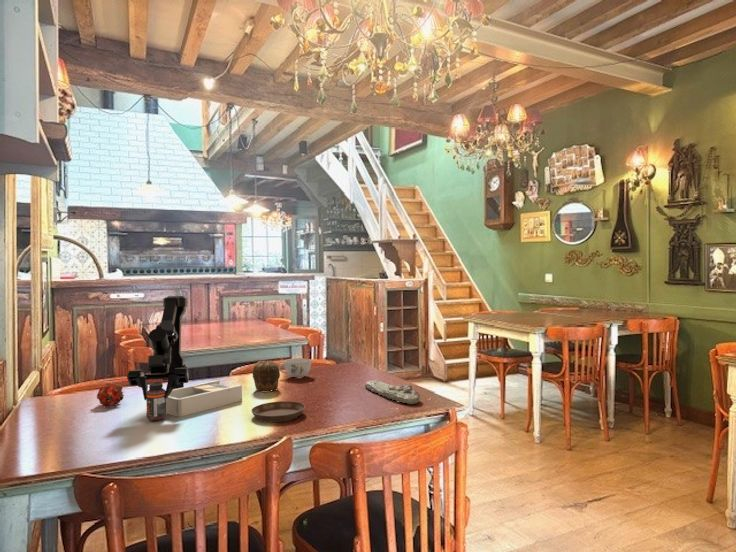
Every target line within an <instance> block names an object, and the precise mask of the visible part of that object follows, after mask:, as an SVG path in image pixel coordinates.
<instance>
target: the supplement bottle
mask: <svg viewBox="0 0 736 552" xmlns="http://www.w3.org/2000/svg"><path fill="white" fill-rule="evenodd" d="M165 392H166V389H165V388H163V382H161V381H160V382H159V381H158V382H157V381H156V382H152V383H150V384H149V385H148V391H147V393H146V400H145V401H146V418H147V419H148V420H150V421H156V420H157V421H158V420H162V419H164V418H166V417H167V413H166V399H165Z"/></svg>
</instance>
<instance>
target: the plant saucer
mask: <svg viewBox="0 0 736 552" xmlns="http://www.w3.org/2000/svg"><path fill="white" fill-rule="evenodd" d="M305 408H306V406H305V404H304V403H302V402H297V401H290V400H289V401H286V400H284V401H283V400H282V401H271V402H265V403H261V404H259V405H256V406H254V407H252V409H251V410H250V411H251V413H252V415H253V416H254V417H255V418H256V419H257V420H258V421H260V420H261V422H264V421H265V423H282V421H284V422H288V421H287V420H289V421H292V420H291V419H293V420H295V419H297V418H299V417H300V416H301V415H302V413H303V412H304V410H305ZM298 416H299V417H298ZM294 418H295V419H294Z"/></svg>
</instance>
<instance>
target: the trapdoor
mask: <svg viewBox="0 0 736 552" xmlns="http://www.w3.org/2000/svg"><path fill="white" fill-rule="evenodd" d="M228 387H230V385H229V386H228V385H224V384H220V385H219V384H215V383H214V384H209V385H201V386H196V387H193V389H197V390H201V391H206V392H211V391H215V390H219V389H224V388H228Z"/></svg>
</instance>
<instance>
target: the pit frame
mask: <svg viewBox="0 0 736 552" xmlns="http://www.w3.org/2000/svg"><path fill="white" fill-rule="evenodd" d="M214 383H215V384H219V385H221V384H220V380H218V379H217V380H213V381H207V382H202V383H199V384H193V385H188V386H184V387H183V388H178V389H173V390H172V391H171V393H170V394H169V396H168V397H167V399H166V415H167V414H168V415H169V416H174V417H176V418H180V417H184V416H188V415H192V414H195V413H199V412H200V413H201V412H203V411H206V410H207V411H208V410H210V409H215V408H220V407H222V406H227V405H231V404H234V402H235V403H238V401H239V402H242V401H243V385H242V384H238V385H233V386H229V387H228V388H224V389H219V390H215V391H211V392H206V391H201V390H197V389H193V387H196V386H201V385H209V384H214ZM241 400H242V401H241Z"/></svg>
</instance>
